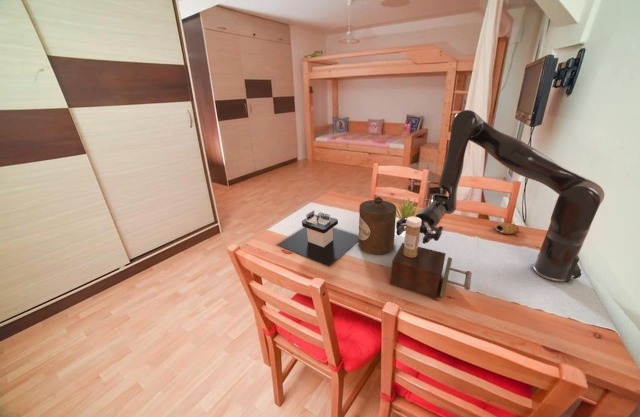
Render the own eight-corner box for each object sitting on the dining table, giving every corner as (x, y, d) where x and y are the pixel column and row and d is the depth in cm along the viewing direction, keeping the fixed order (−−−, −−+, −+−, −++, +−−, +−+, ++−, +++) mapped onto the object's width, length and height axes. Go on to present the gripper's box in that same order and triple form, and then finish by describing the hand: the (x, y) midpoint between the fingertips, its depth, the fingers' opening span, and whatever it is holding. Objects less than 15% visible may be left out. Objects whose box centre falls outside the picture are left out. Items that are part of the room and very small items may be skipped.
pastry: (509, 226, 123) (512, 218, 121) (522, 233, 117) (525, 225, 115) (492, 228, 121) (494, 221, 120) (504, 235, 115) (506, 228, 114)
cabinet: (441, 275, 93) (445, 253, 89) (435, 298, 83) (440, 274, 79) (400, 264, 100) (402, 242, 96) (390, 284, 90) (392, 261, 86)
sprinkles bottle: (419, 255, 88) (424, 219, 83) (410, 259, 86) (415, 223, 80) (408, 249, 92) (413, 214, 86) (400, 253, 90) (403, 218, 84)
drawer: (468, 282, 88) (473, 263, 85) (466, 304, 79) (471, 284, 76) (408, 265, 97) (410, 247, 94) (400, 284, 88) (402, 265, 85)
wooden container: (357, 236, 120) (358, 191, 111) (390, 236, 119) (393, 190, 110) (359, 254, 106) (361, 205, 97) (396, 255, 105) (401, 205, 96)
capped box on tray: (362, 237, 119) (363, 210, 113) (329, 266, 100) (328, 236, 94) (313, 221, 134) (312, 197, 129) (277, 244, 115) (273, 217, 110)
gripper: (410, 204, 98) (390, 220, 87) (450, 214, 90) (435, 233, 78) (408, 222, 101) (389, 240, 90) (447, 233, 93) (431, 254, 81)
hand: (410, 236), depth 84 cm, fingers open, 8 cm apart
